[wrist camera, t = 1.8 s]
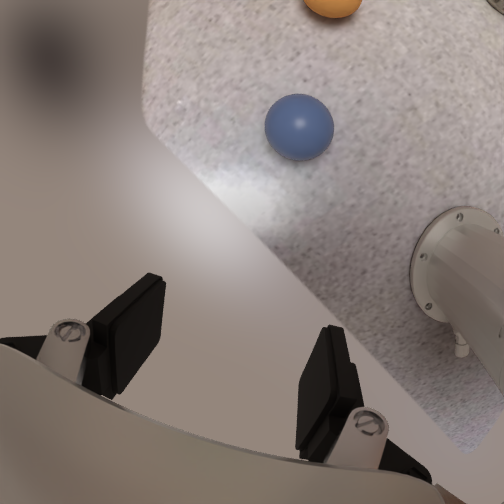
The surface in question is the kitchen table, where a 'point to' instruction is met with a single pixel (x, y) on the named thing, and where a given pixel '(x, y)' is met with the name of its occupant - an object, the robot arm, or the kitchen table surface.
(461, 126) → the kitchen table surface
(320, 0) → the object ball
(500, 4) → the spray can
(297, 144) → the blue ball
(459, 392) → the kitchen table surface
